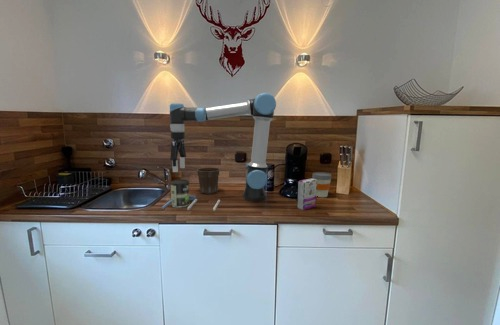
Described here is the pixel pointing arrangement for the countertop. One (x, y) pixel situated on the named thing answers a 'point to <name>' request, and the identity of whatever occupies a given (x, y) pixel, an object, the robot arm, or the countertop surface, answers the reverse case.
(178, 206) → the coffee can
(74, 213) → the countertop surface
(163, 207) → the divider rack
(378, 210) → the countertop surface
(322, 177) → the reusable coffee cup
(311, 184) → the candy bar box
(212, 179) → the plant pot
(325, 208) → the countertop surface
